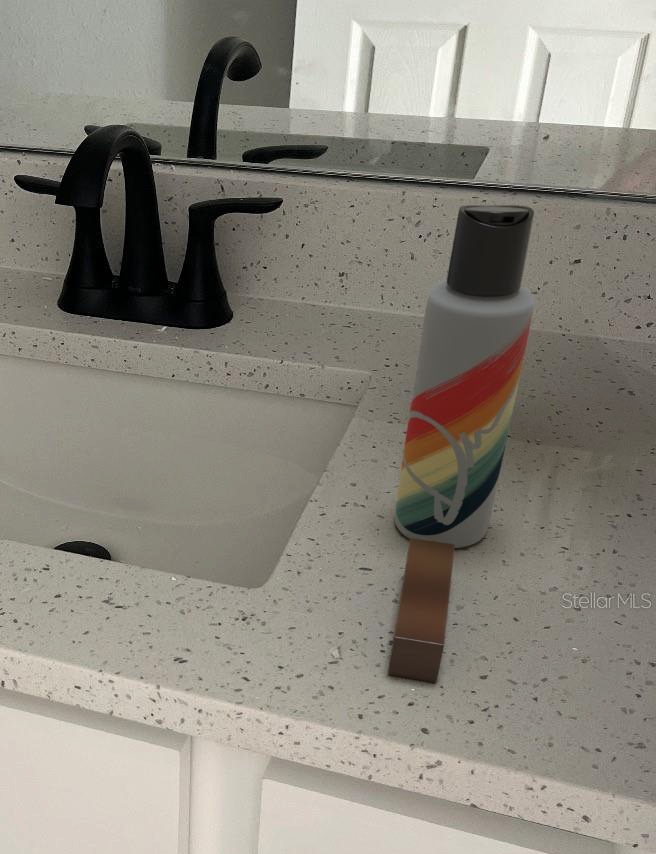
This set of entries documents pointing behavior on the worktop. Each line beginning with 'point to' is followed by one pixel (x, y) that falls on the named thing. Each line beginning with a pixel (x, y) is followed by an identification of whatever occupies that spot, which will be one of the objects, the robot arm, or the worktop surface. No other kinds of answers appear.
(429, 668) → the walnut stick
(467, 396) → the lotion bottle
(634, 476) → the worktop surface
